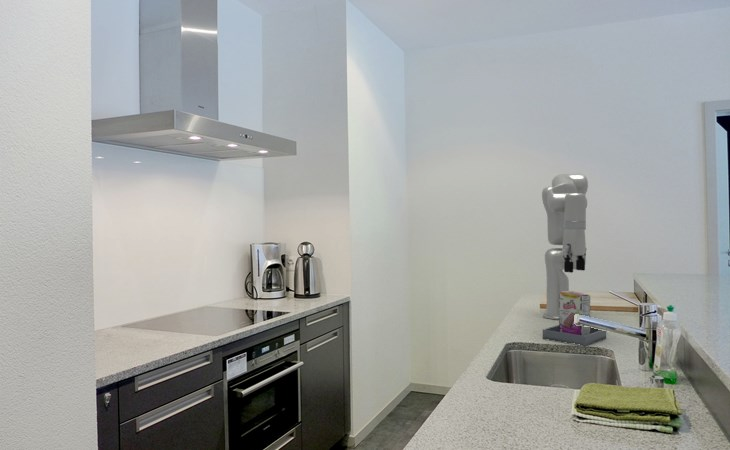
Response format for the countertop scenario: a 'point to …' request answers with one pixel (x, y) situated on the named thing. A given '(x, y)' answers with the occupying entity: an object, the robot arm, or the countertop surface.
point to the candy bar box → (573, 312)
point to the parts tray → (574, 336)
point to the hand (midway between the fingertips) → (574, 271)
